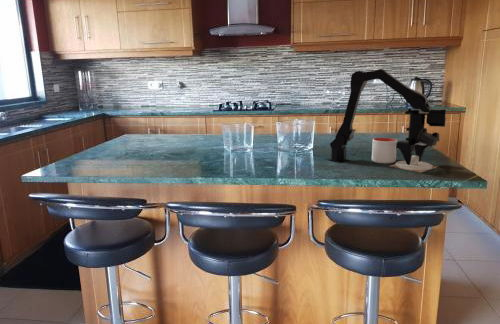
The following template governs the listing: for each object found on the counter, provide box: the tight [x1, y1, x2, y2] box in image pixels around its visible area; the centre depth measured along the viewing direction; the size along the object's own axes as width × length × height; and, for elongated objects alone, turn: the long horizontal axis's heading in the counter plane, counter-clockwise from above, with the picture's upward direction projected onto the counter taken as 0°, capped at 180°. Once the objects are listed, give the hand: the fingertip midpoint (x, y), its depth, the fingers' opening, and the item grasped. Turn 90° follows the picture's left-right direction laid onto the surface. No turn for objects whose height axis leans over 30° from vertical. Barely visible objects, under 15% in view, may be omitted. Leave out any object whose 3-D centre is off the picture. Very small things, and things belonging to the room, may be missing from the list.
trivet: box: [389, 163, 439, 174], centre depth 160 cm, size 14×14×1 cm
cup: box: [371, 137, 398, 164], centre depth 170 cm, size 10×10×10 cm
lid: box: [394, 154, 433, 172], centre depth 160 cm, size 14×14×4 cm
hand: (413, 163), depth 160 cm, fingers open, 8 cm apart
